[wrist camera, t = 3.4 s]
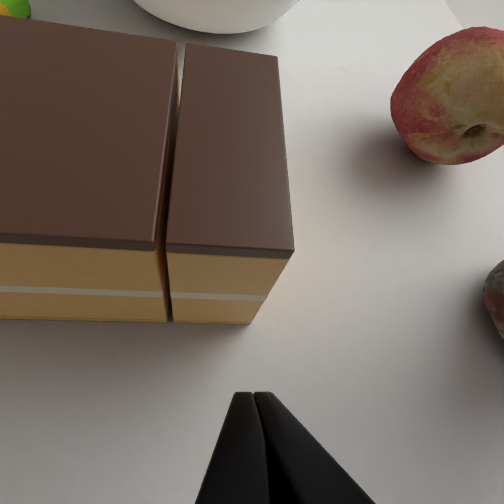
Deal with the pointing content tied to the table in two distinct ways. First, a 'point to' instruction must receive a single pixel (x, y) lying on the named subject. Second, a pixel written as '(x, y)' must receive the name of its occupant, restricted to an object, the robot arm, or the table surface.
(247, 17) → the bowl
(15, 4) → the popsicle
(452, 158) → the fruit
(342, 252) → the table surface
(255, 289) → the cake slice
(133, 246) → the cake
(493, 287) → the candle
